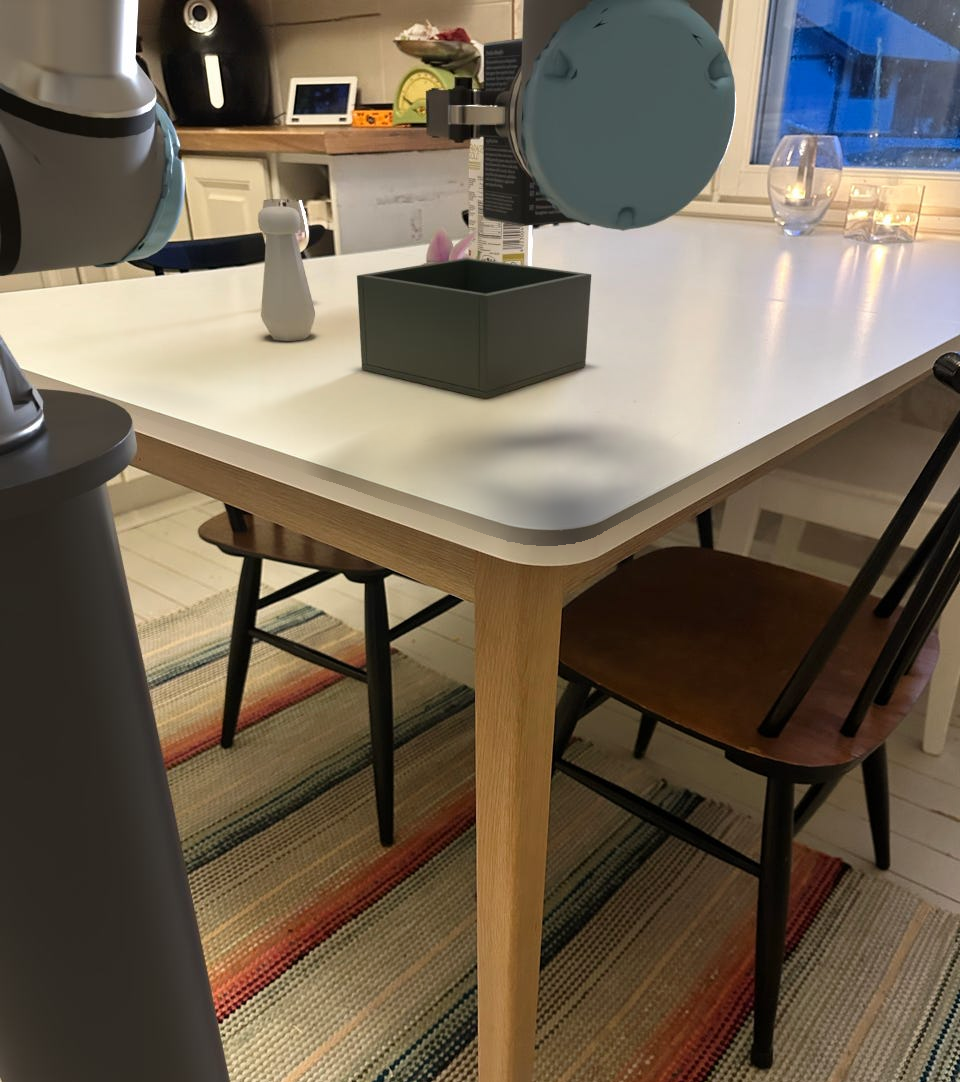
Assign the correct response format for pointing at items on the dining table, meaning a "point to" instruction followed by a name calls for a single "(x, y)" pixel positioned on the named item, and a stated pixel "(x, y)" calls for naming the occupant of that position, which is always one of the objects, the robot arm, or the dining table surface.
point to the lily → (447, 247)
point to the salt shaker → (284, 277)
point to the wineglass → (298, 205)
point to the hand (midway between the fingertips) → (547, 113)
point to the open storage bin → (473, 324)
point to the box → (509, 155)
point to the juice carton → (493, 222)
